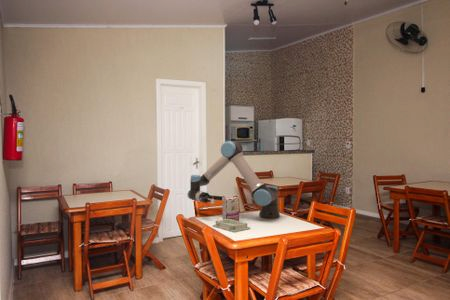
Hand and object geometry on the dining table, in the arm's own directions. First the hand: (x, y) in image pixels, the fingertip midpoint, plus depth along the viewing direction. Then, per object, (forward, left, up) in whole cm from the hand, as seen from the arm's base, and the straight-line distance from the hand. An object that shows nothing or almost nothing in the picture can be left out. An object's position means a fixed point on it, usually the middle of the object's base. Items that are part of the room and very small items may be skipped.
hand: (221, 200), depth 247 cm
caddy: (+11, +22, -13) cm, 28 cm away
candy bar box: (0, +9, -13) cm, 16 cm away
